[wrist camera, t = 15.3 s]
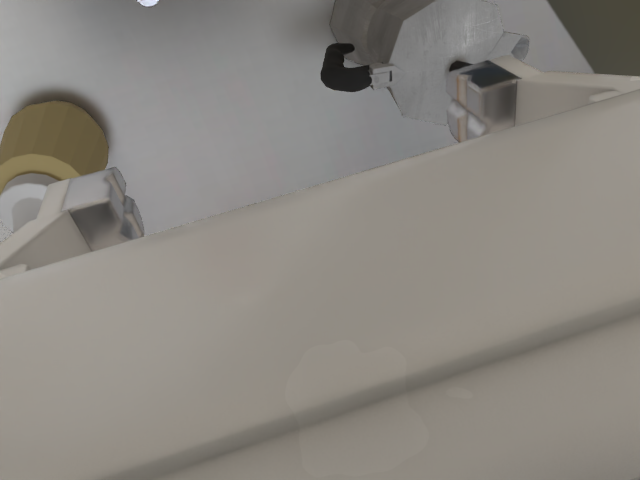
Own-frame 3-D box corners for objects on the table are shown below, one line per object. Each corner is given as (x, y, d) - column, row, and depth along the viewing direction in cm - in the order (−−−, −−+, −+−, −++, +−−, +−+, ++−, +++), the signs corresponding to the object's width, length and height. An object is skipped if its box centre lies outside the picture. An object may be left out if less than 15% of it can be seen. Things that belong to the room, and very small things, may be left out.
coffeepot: (445, -52, 47) (573, -17, 32) (440, 55, 52) (547, 124, 38) (277, -26, 44) (334, 22, 30) (290, 82, 50) (344, 166, 36)
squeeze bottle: (105, 86, 46) (82, 183, 32) (117, 169, 50) (102, 286, 36) (2, 87, 44) (-72, 190, 30) (24, 173, 48) (-30, 298, 34)
